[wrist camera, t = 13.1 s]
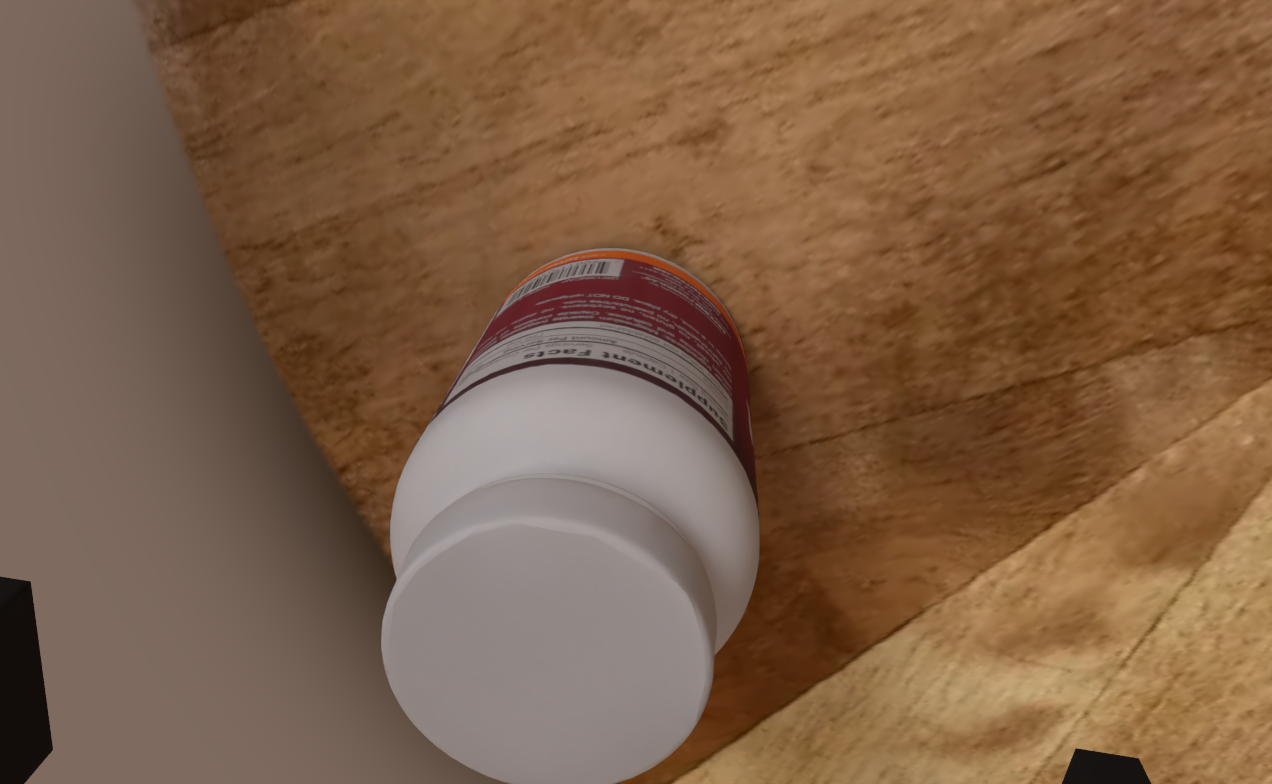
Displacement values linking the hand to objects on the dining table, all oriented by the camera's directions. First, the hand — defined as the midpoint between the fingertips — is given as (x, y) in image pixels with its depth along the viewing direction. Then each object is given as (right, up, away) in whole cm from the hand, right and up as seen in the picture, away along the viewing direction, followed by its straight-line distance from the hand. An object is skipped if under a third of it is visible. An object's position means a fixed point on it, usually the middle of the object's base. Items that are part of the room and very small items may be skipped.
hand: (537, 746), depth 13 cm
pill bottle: (+1, +5, +11) cm, 13 cm away
